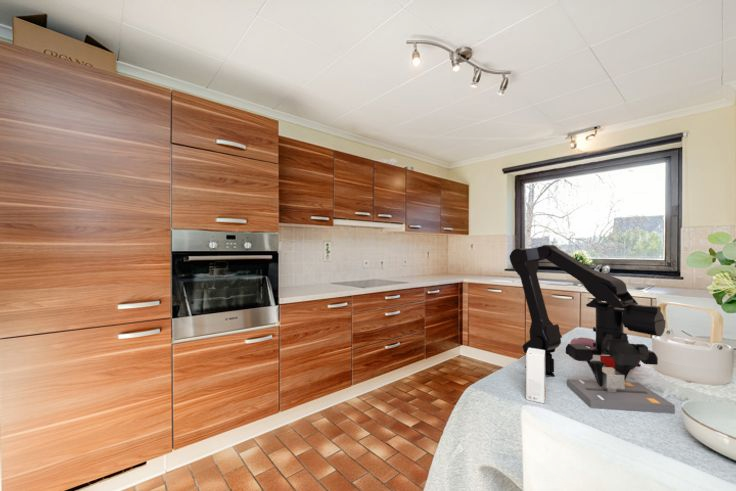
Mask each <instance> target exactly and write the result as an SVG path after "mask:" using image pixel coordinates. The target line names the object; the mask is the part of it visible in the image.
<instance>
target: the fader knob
mask: <svg viewBox="0 0 736 491" xmlns="http://www.w3.org/2000/svg"><path fill="white" fill-rule="evenodd" d="M602 376H603V384H602V385H603V388H604V389H605V390H606V391H608V392H616V389H625V382H626V379H625V380H624V375H623V374H622V373H620V372H618V371H617V370H615V369H614V368H612V367H607V366H603V367H602Z"/></svg>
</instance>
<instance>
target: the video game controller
mask: <svg viewBox="0 0 736 491" xmlns="http://www.w3.org/2000/svg"><path fill="white" fill-rule="evenodd" d="M593 342H596V339H592V338H588V337H575V338H572V339H571V340H570V343H569V344H582V345H584V346H586V347H587V348H589V349H596V347H594V346H593Z"/></svg>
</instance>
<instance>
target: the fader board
mask: <svg viewBox="0 0 736 491" xmlns="http://www.w3.org/2000/svg"><path fill="white" fill-rule="evenodd" d="M566 386H567V387H568V388H569V389H570V391H572V392H573V393H574V394H575V395H576V396H577V397H579V399H580V400H582V402H584V404H586V405H587V406H588V407H589V408H590V409H600V410H601V409H603V410H615V411H616V410H617V411H627V412H628V411H630V412H644V413H646V412H647V413H660V414H661V413H662V414H673V415H674V414H675V412H676V410H675V409H676V406H675V404H673V403H672V402H670V401H669V400H667V399H665V398H664V397H663V396H661V395H659V394H658V393H656V392H654V391H653V390H652V389H650V388H649V387H647V386H645V385H643V384H642V383H639V382H632V381H625V389H616V392H608V391H606V390H605V389H604V388H603V385H602V387H600V386H599V385H598V383H597V381H596V379H575V378H566Z"/></svg>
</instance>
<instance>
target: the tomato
mask: <svg viewBox="0 0 736 491" xmlns="http://www.w3.org/2000/svg"><path fill="white" fill-rule="evenodd" d="M601 362H603V363H604V366H605V367H612V368H614V369H615V362H614V360H613V359H612V357H601ZM639 364H641V361H640V360H639ZM633 369H635V368H633ZM633 369H632V370H633Z"/></svg>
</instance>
